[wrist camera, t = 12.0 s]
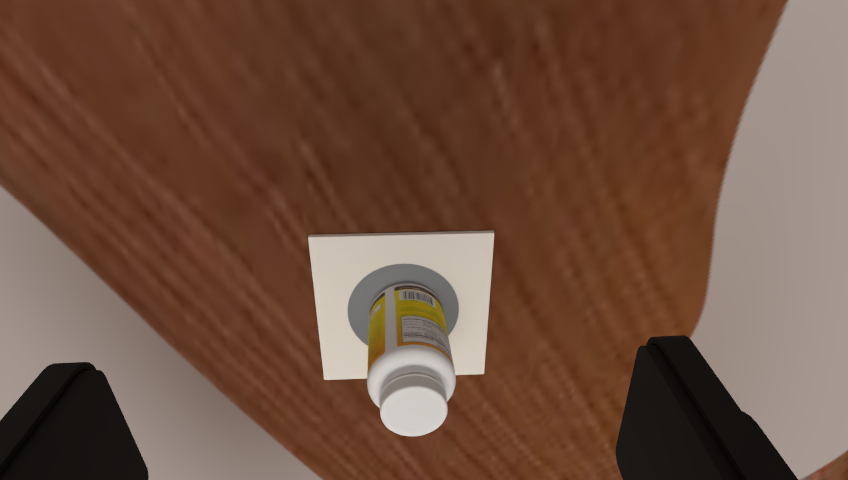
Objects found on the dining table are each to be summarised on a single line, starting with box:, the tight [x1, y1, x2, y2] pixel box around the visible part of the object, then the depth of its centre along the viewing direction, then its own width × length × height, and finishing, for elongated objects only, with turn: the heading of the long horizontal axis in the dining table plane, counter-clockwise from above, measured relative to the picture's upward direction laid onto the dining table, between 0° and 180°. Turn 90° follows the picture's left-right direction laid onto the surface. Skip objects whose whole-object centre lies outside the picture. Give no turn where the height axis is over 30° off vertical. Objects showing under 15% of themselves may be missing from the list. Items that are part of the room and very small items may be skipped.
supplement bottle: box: [367, 283, 456, 436], centre depth 35 cm, size 6×6×10 cm
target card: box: [308, 230, 494, 380], centre depth 40 cm, size 13×13×1 cm
